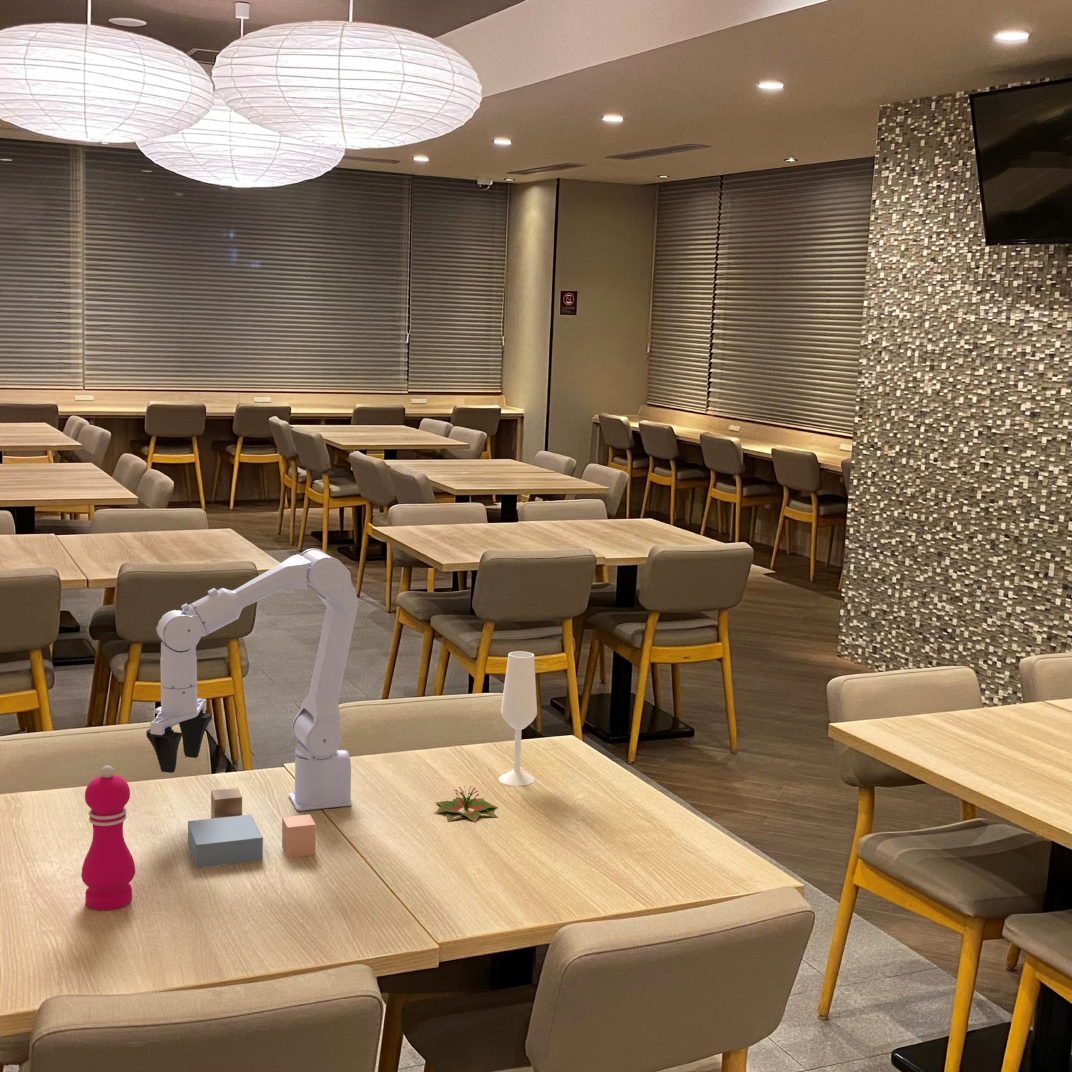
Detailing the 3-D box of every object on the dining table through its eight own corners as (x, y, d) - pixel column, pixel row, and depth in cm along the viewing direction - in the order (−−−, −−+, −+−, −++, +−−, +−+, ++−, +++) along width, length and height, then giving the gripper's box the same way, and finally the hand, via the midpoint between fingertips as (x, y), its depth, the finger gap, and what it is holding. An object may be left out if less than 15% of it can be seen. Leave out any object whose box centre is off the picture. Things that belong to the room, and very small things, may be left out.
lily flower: (489, 798, 225) (490, 773, 224) (509, 822, 214) (510, 797, 213) (424, 803, 221) (425, 778, 221) (441, 829, 210) (441, 803, 209)
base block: (251, 838, 203) (251, 814, 202) (262, 862, 194) (262, 837, 193) (187, 845, 199) (187, 821, 198) (196, 870, 190) (196, 844, 189)
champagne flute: (534, 786, 230) (539, 659, 227) (497, 785, 231) (502, 658, 227) (534, 774, 237) (539, 650, 233) (499, 772, 237) (503, 649, 234)
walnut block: (237, 816, 211) (238, 787, 210) (242, 825, 207) (242, 797, 206) (211, 819, 209) (211, 790, 208) (214, 828, 205) (214, 799, 204)
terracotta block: (309, 844, 201) (309, 814, 200) (315, 854, 197) (315, 824, 196) (282, 847, 199) (282, 817, 198) (287, 858, 195) (287, 827, 194)
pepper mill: (85, 916, 173) (83, 777, 170) (78, 895, 179) (76, 760, 176) (139, 907, 176) (138, 770, 173) (130, 886, 183) (129, 754, 179)
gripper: (179, 671, 213) (180, 748, 215) (132, 693, 199) (134, 775, 201) (217, 675, 211) (218, 752, 213) (172, 698, 197) (174, 780, 199)
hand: (180, 764), depth 207 cm, fingers open, 7 cm apart
